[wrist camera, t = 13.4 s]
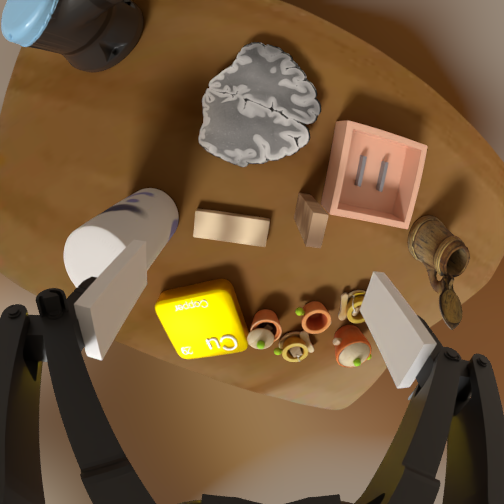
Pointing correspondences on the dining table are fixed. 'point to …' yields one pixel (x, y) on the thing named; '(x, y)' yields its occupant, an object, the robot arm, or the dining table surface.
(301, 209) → the tall beige block
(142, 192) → the container
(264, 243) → the beige wooden plank
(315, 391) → the dining table surface
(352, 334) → the toy tea set
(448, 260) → the wooden mug
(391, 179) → the pink open box
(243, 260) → the dining table surface
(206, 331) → the element tile
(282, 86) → the brain slice
